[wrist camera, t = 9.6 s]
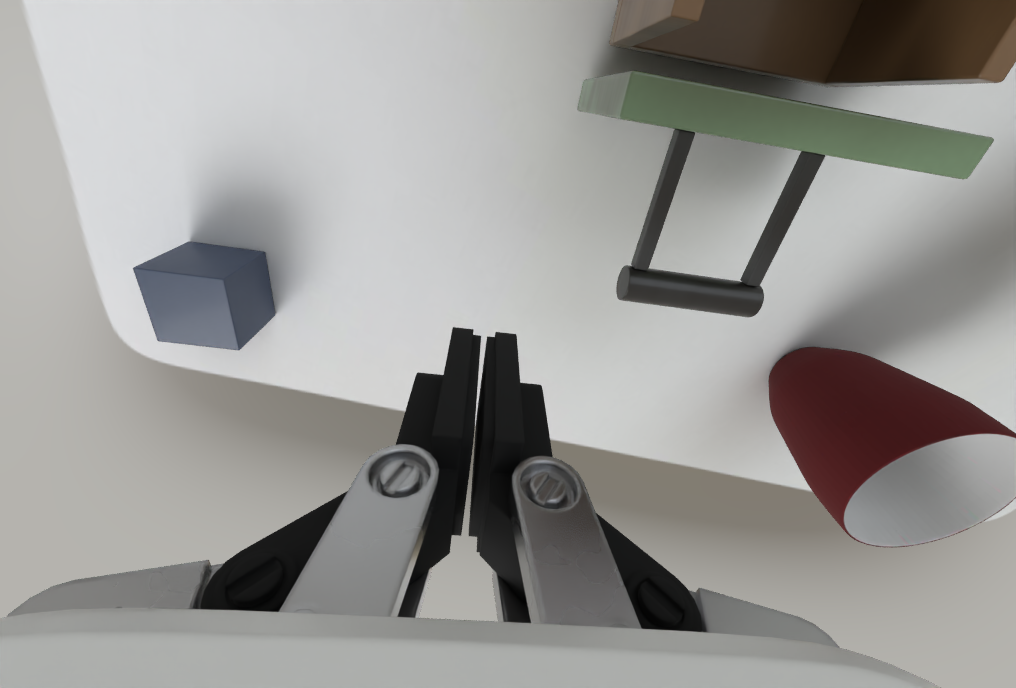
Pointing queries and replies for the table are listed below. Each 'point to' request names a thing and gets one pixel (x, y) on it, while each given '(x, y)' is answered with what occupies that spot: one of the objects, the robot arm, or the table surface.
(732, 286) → the drawer
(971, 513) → the mug
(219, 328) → the block
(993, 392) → the table surface
